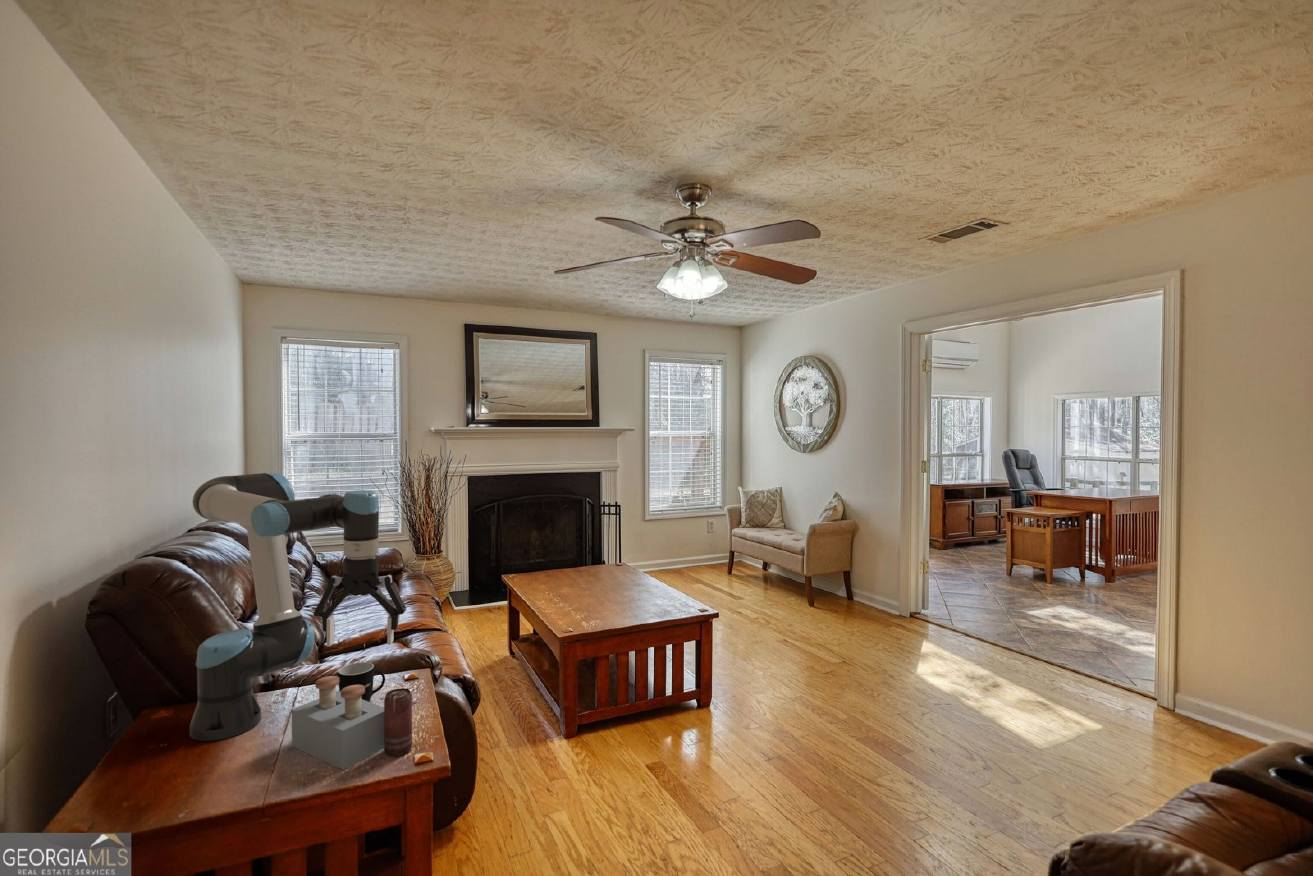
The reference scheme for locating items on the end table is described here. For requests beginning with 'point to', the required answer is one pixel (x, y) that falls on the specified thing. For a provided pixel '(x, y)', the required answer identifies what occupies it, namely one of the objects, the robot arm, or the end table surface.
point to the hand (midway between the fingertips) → (360, 643)
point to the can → (397, 722)
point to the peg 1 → (327, 691)
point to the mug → (360, 677)
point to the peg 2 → (353, 701)
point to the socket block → (338, 732)
